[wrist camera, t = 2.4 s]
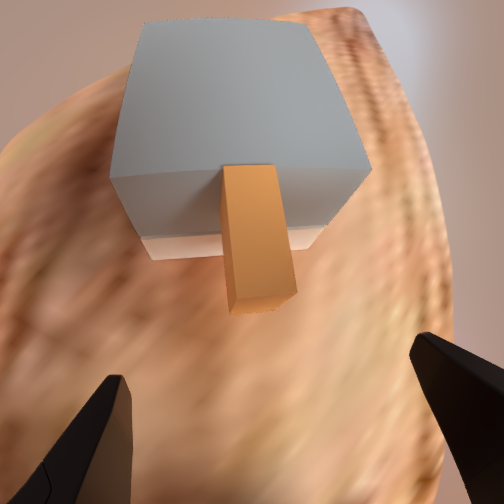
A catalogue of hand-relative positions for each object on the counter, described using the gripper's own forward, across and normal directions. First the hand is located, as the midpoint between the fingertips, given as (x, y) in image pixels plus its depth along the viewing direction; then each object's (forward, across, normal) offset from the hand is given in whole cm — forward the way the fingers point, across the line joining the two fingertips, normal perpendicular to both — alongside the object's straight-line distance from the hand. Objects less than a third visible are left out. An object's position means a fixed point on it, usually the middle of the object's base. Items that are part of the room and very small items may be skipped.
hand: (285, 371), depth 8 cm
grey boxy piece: (+13, 0, -3) cm, 14 cm away
